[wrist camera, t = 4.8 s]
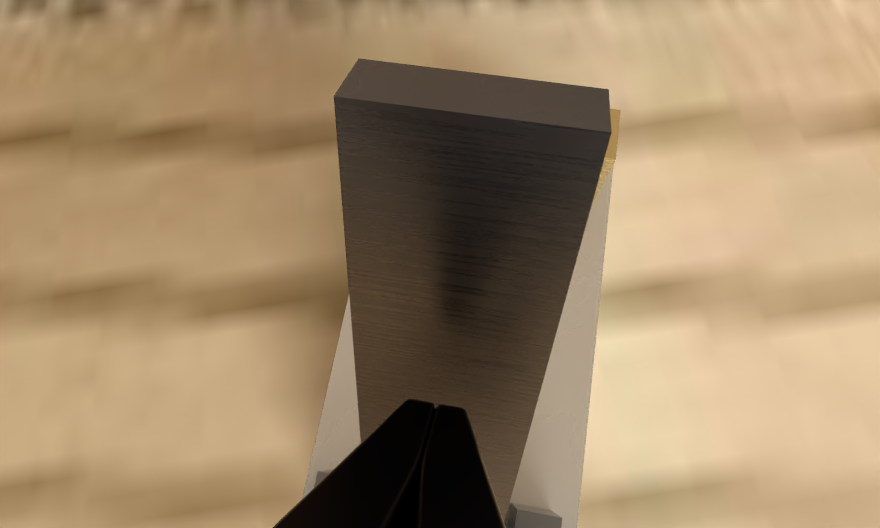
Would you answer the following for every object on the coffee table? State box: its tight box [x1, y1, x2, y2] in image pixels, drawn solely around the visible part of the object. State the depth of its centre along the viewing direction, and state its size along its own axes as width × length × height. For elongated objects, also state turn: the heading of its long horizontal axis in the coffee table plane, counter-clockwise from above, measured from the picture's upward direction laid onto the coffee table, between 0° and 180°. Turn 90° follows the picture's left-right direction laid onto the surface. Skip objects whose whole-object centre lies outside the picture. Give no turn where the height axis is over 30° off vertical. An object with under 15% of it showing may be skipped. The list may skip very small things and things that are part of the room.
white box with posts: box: [302, 109, 620, 528], centre depth 17 cm, size 12×7×8 cm, turn 170°
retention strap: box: [334, 59, 612, 521], centre depth 11 cm, size 2×3×12 cm
